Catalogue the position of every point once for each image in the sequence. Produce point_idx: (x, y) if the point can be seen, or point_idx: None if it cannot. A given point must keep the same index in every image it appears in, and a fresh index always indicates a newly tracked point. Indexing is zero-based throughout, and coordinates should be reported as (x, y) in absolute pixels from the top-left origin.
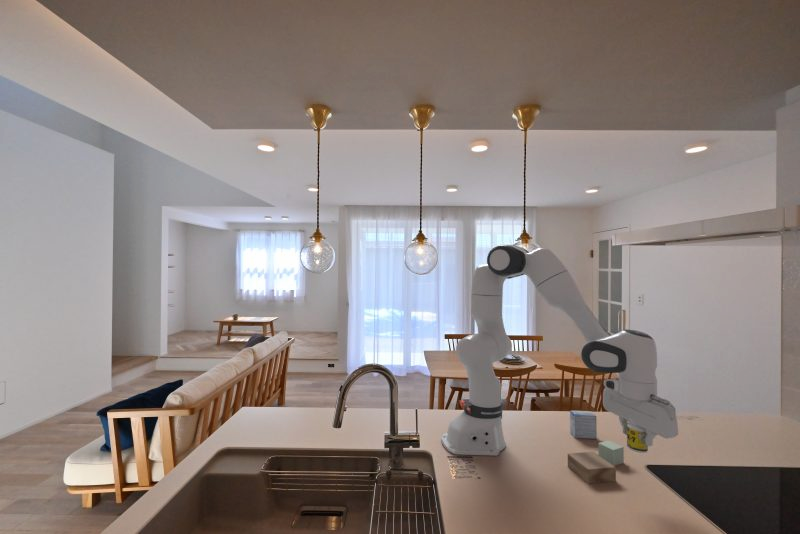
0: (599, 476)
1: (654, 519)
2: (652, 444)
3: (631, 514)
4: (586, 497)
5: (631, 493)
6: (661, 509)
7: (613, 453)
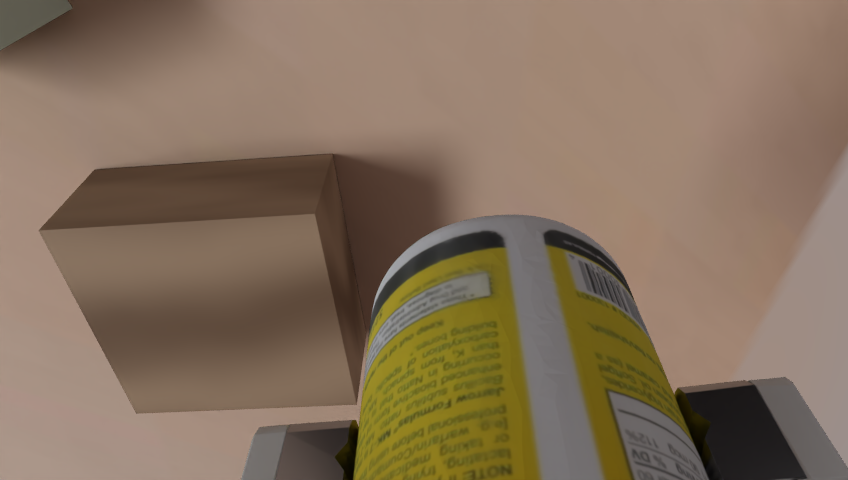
0: (348, 295)
1: (751, 199)
2: (794, 386)
3: (671, 287)
4: None
5: (488, 148)
6: (693, 75)
7: (4, 47)
